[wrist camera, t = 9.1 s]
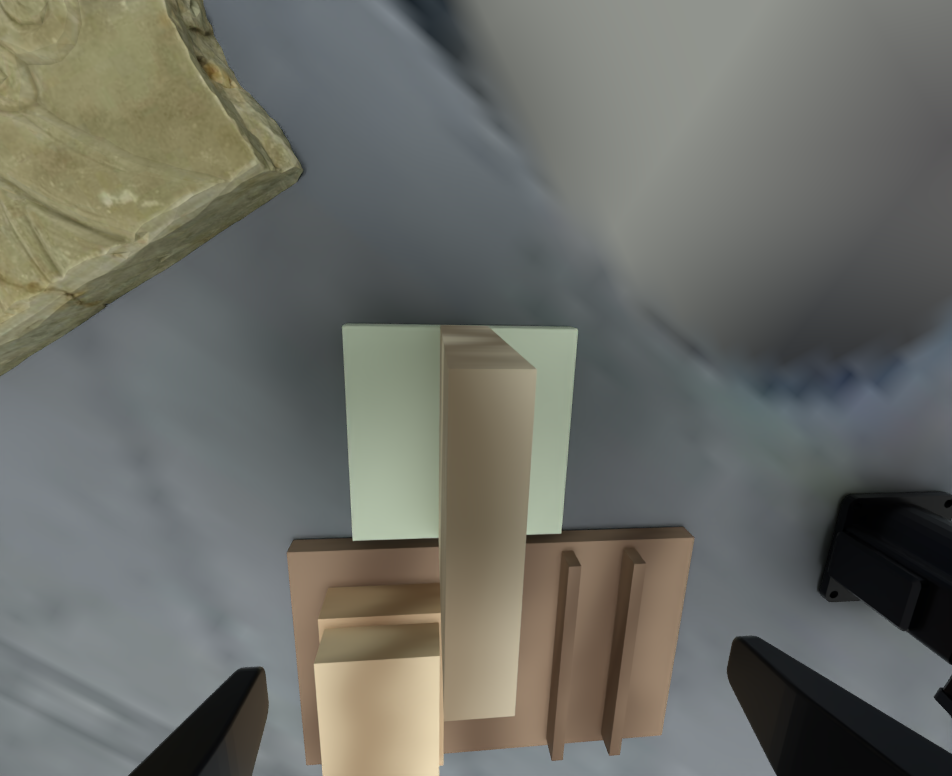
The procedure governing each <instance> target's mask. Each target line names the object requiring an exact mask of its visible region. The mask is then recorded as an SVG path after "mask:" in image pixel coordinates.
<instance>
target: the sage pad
mask: <svg viewBox="0 0 952 776" xmlns="http://www.w3.org/2000/svg"><path fill="white" fill-rule="evenodd" d="M469 326H488V325H469ZM488 327H489V328H491V329H492V330H493V331H494V332H495V333H496V334H497V335H498V336H500V337H501V338H502V339H503V340H504V341H505V342H506V343H508V344H509V345H510V346H511V347H512V348H513V349H514V350H515V351H517V352H518V353H519V354H520V355H521V356H522V357H523V358H525V359H526V360H527V361H528V362H529V363H530V364H531V365H532V366H534V367H535V368H536V369H537V376H536V392H535V408H534V423H533V439H532V455H531V470H530V486H529V502H528V517H527V533H526V535H533V534H561V531H562V519H563V507H564V495H565V483H566V470H567V458H568V446H569V434H570V422H571V410H572V398H573V386H574V373H575V361H576V349H577V337H578V329H576V328H573V327H555V326H488ZM342 335H343V355H344V375H345V396H346V416H347V436H348V456H349V476H350V497H351V517H352V537H353V541H360V540H389V539H418V538H439V421H440V325H421V324H354V323H346V324H345V325H343V326H342Z"/></svg>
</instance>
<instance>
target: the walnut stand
mask: <svg viewBox="0 0 952 776" xmlns="http://www.w3.org/2000/svg"><path fill="white" fill-rule="evenodd" d="M693 543H694V537H693V536H692V535H691V534H690V533H689V532H688V531H687V530H686V529H685V528H684V527H662V528H632V529H603V530H574V531H561V534H533V535H526V548H525V564H524V580H523V595H522V611H521V627H520V642H519V658H518V673H517V689H516V705H515V716H509V717H496V718H482V719H469V720H456V721H444V739H443V754H445V753H457V752H468V751H480V750H492V749H504V748H515V747H527V746H539V745H548V748H549V752H550V756H551V760H552V761H556V760H563V751H564V743H574V742H586V741H598V740H604V743H605V746H606V749H607V751H608V754H609V756H612V755H620V750H621V742H622V738H633V737H645V736H657V735H662V729H663V723H664V717H665V711H666V705H667V699H668V693H669V687H670V681H671V675H672V669H673V663H674V657H675V651H676V645H677V639H678V633H679V627H680V621H681V615H682V609H683V603H684V597H685V591H686V585H687V579H688V573H689V567H690V561H691V555H692V549H693ZM287 560H288V571H289V581H290V592H291V603H292V614H293V625H294V636H295V647H296V658H297V668H298V679H299V690H300V701H301V712H302V723H303V734H304V745H305V755H306V765H315V764H322V760H321V747H320V735H319V722H318V710H317V698H316V685H315V673H314V662H315V658H316V655H317V652H318V648H319V645H320V642H319V629H318V617H319V614H320V611H321V608H322V605H323V602H324V599H325V596H326V593H327V590H328V588H336V587H358V586H380V585H402V584H424V583H440V570H439V538H418V539H389V540H360V541H353V538H338V539H309V540H293V542H292V544H291V546H290V547H289V549H288V551H287Z"/></svg>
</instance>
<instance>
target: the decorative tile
mask: <svg viewBox="0 0 952 776" xmlns="http://www.w3.org/2000/svg"><path fill="white" fill-rule="evenodd" d="M302 172H303V169H302V167H301V164H300V162H299V161H298V159H297V158H296V156H295V155H294V153H293V151H292V149H291V146H290V143H289V142H288V140H287V139H286V137H285V136H284V134H283V132H282V130H281V129H280V127H279V126H278V124H277V123H276V122H275V120H273V119H272V118H270V117H269V115H268V114H267V113H266V111H265V110H264V109H263V108H262V107H261V106H260V105H259V104H258V103H257V101H256V100H255V99H254V98H253V97H252V96H251V95H250V94H249V93H248V92H247V91H245V90H244V89H243V88H242V87H241V86H240V85H239V83H238V81H237V79H236V77H235V75H234V72H233V71H232V70H231V69H230V68H229V67H228V65H227V62H226V59H225V56H224V53H223V51H222V48H221V46H220V45H219V44H218V42H217V40H216V38H215V37H214V33H213V29H212V26H211V24H210V23H209V22H208V20H207V17H206V13H205V9H204V5H203V0H0V376H1V375H3V374H4V373H6V372H8V371H9V370H11V369H13V368H14V367H16V366H17V365H18V364H20V363H21V362H22V361H24V360H25V359H26V358H28V357H29V356H31V355H32V354H34V353H36V352H37V351H39V350H41V349H42V348H44V347H46V346H47V345H49V344H51V343H52V342H54V341H56V340H57V339H59V338H61V337H62V336H64V335H65V334H67V333H68V332H70V331H71V330H73V329H74V328H76V327H77V326H79V325H80V324H82V323H83V322H85V321H86V320H88V319H89V318H90V317H92V316H93V315H95V314H96V313H98V312H99V311H101V310H102V309H104V308H105V307H106V304H110V303H112V302H113V301H114V300H116V299H117V298H119V297H121V296H122V295H124V294H125V293H127V292H129V291H130V290H132V289H134V288H135V287H137V286H139V285H140V284H142V283H143V282H145V281H147V280H148V279H150V278H152V277H154V276H155V275H157V274H159V273H160V272H162V271H164V270H165V269H167V268H169V267H170V266H172V265H173V264H175V263H176V262H178V261H180V260H181V259H182V258H184V257H185V256H187V255H188V254H190V253H191V252H192V251H194V250H195V249H196V248H198V247H199V246H201V245H202V244H204V243H206V242H207V241H209V240H210V239H211V238H213V237H214V236H216V235H217V234H218V233H220V232H222V231H223V230H225V229H226V228H228V227H229V226H231V225H232V224H234V223H235V222H237V221H239V220H241V219H243V218H244V217H245V216H247V215H248V214H250V213H251V212H253V211H254V210H256V209H257V208H259V207H260V206H262V205H263V204H265V203H267V202H268V201H270V200H271V199H272V198H274V197H275V196H277V195H278V194H280V193H281V192H283V191H284V190H286V189H287V188H289V187H290V186H292V185H293V184H295V183H296V182H297V181H298V178H299V176H300V175H301V173H302Z"/></svg>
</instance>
